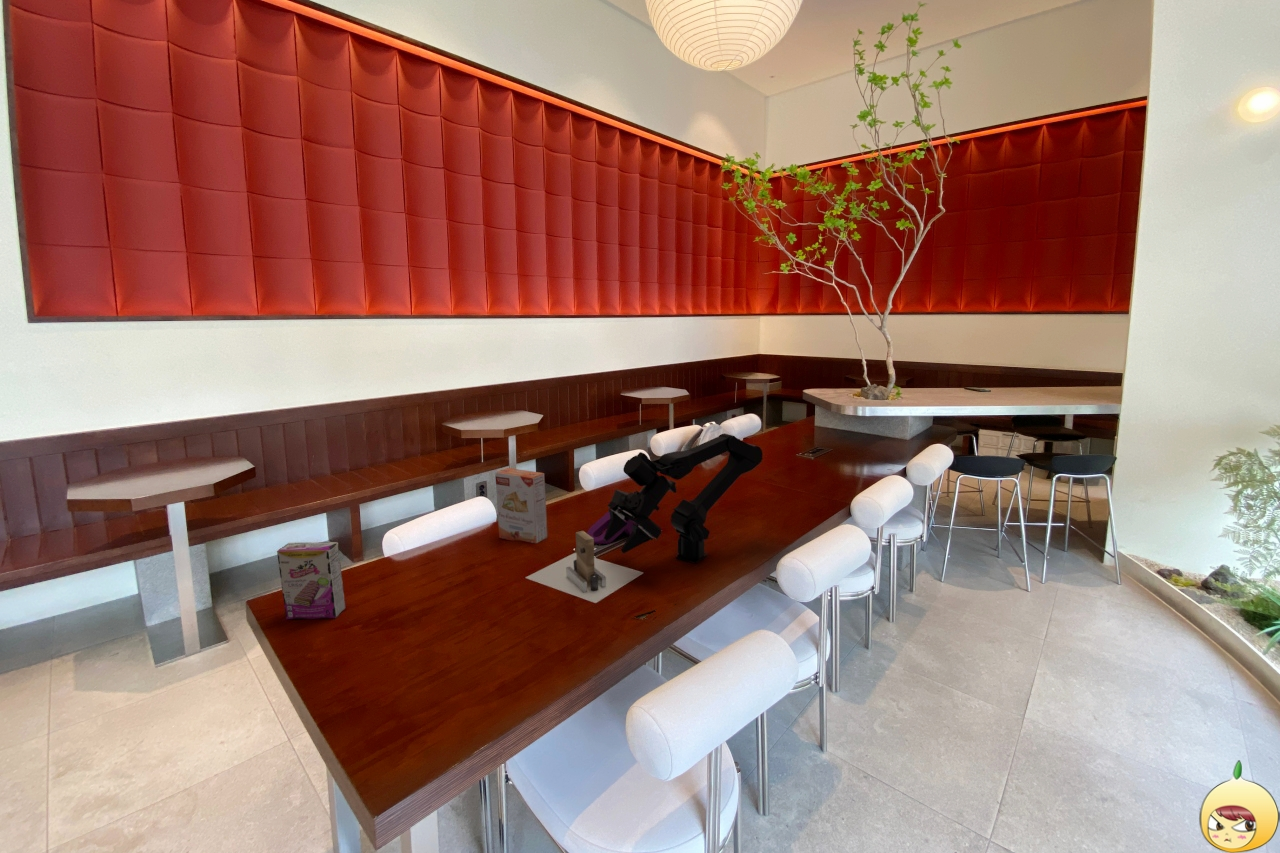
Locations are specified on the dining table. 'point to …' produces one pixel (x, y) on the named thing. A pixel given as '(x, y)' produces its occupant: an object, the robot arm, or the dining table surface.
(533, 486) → the cracker box
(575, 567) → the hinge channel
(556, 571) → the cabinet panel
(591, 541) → the wooden block
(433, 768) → the dining table surface
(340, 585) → the candy bar box
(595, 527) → the mounting bracket
